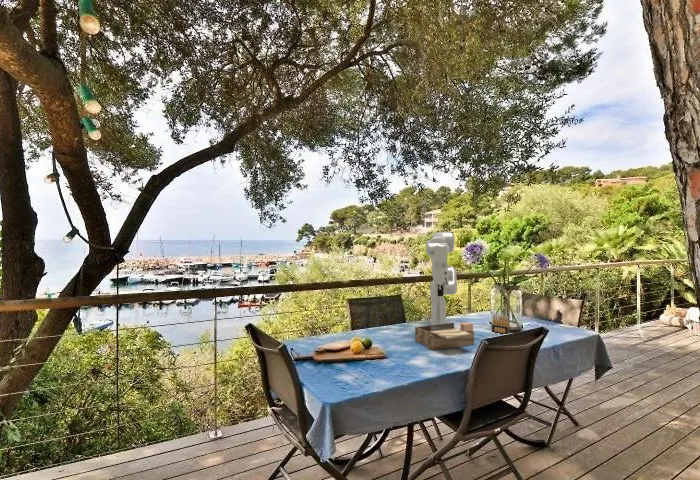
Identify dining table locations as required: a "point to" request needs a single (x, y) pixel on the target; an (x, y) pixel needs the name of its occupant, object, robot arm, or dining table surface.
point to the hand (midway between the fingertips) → (440, 295)
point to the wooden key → (466, 327)
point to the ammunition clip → (500, 325)
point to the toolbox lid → (448, 331)
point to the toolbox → (440, 339)
